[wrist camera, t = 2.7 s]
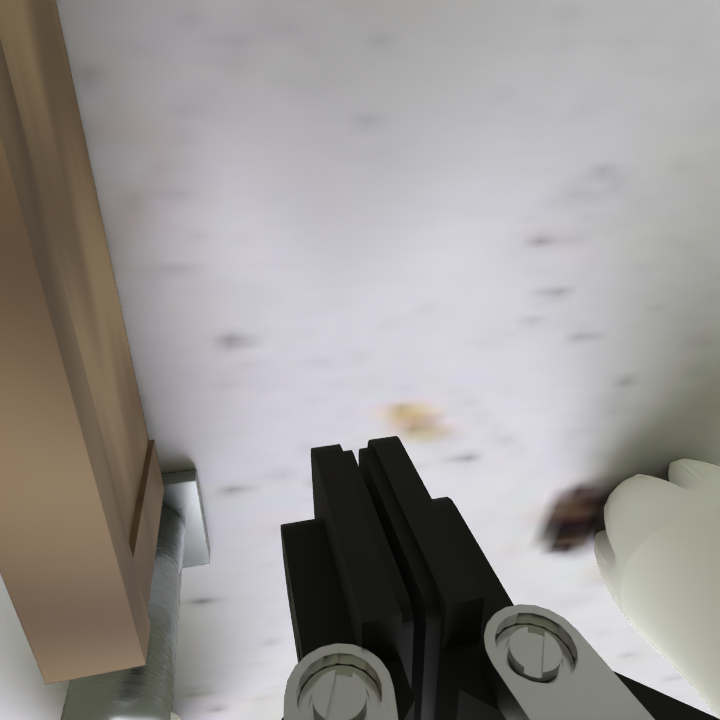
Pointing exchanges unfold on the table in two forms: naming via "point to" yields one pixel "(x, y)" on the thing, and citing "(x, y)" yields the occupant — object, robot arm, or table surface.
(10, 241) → the gate
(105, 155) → the table surface
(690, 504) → the water bottle
